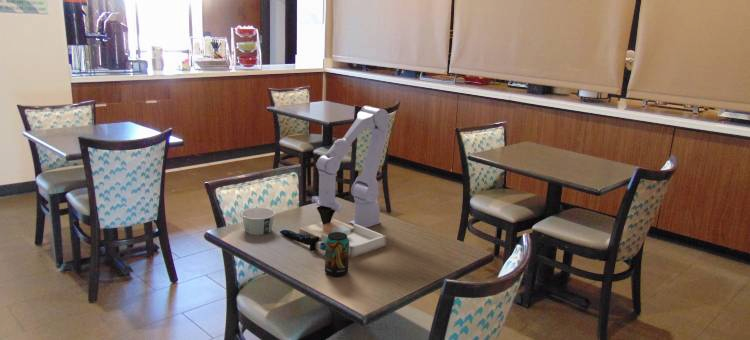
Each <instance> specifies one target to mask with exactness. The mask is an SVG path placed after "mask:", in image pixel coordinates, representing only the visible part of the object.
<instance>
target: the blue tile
mask: <svg viewBox="0 0 750 340" xmlns="http://www.w3.org/2000/svg"><path fill="white" fill-rule="evenodd" d="M333 232H341V233H345V234H346V235H347V236H348V235H350V229H349V228H347V227H345V226H343V225H340V226H337V227H333V228H332V233H333Z"/></svg>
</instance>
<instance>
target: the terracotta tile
mask: <svg viewBox="0 0 750 340" xmlns="http://www.w3.org/2000/svg"><path fill="white" fill-rule="evenodd" d="M337 226H340V224H337V223H335V222H330V223H327V224H323V230H325V231H327V232H330V233H332V228H333V227H337Z"/></svg>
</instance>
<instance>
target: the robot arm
mask: <svg viewBox="0 0 750 340" xmlns="http://www.w3.org/2000/svg"><path fill="white" fill-rule="evenodd" d="M356 116H357V117H356V119H355V120H354V122H353V123H352V125H351V126H350V127H349V129H348V130H347V132H346V133H345V135H344V136H343V137H342V138H338V139H336V140H334V142H333V144H332V146H331V147H330V148H329V149H328V150H327V151H326V152H325V154H324V155H321V156H320V157H319V158H318V159H317V162H316V163H315V167H316V168H317V170H318V195H315V196H314V195H313V196H311V203H313V204H316V205H317V207H316V210H317V212H318V213H319V216H320V219H321V222H322V224H327V223H330V222H331V219H333V216H334V214H335V212H336V213H341V212H343V210H344V209H343V205H341V204H339V202H337V201H336V182H337V181H336V180H337V179H336V176H337V175H336V173H337V172H339V170H340V168H341V166H340V165H341V163H342V160H343V159H344V158H345V157H346V155H347V154H348V153H349V152H350V151H351V144H353V142H354V141H355V140H356V139H357V138H358V137H359V136H360V135H361V134H362V132H363V131H364V130H367V129H369V130H370V132H371V136H370V140H369V144H368V148H367V151H366V155H365V158H364V159H365V160H364V163H363V167H362V171H361V173H360V174H359V175H357V177H356V178H355V180H354V182H353V184H352V185H351V189H350V192H351V193H350V194H351V195H352V197H353V200H354V211H353V212H354V214H353V219H352V220H349V221H348V223H349V224H351V225H353V226H354V224H357V225H360V226H362V227H365V228H367V229H368V228H370V227H372V226H375V225H378V224H381V223H382V222H381V221H380V213H381V212H380V211H381V208H380V207H381V206H380V203H379V201H378V199H379V194H380V193H379V191H380V190H379V187H380V183H379V182H378V179H377V174H378V171H379V167H380V164H381V160H382V155H383V152H384V148H385V145H386V140H387V138H388V134H389V133H388V132H389V123H390V118H391V117H390V115H389V113H388V111H387V110H386V109H384V108H378V107H375V106H370V105H364V106H362V107H361V109H360V110H359V111H358V113H357V115H356Z"/></svg>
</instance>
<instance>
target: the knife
mask: <svg viewBox="0 0 750 340" xmlns="http://www.w3.org/2000/svg"><path fill="white" fill-rule="evenodd" d="M279 233H280V235H282V236H284V237H286V238H287V239H290V240H291V241H295V242H297V243H300V244H304V245H307V246H309V251H315V250H321V251H325V247H326V242H319V237H318V236H317V237H314V238H312V239H311V238H310V235H301V234H299V232H295V231H293V230H289V229H282V230H280V231H279Z"/></svg>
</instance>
